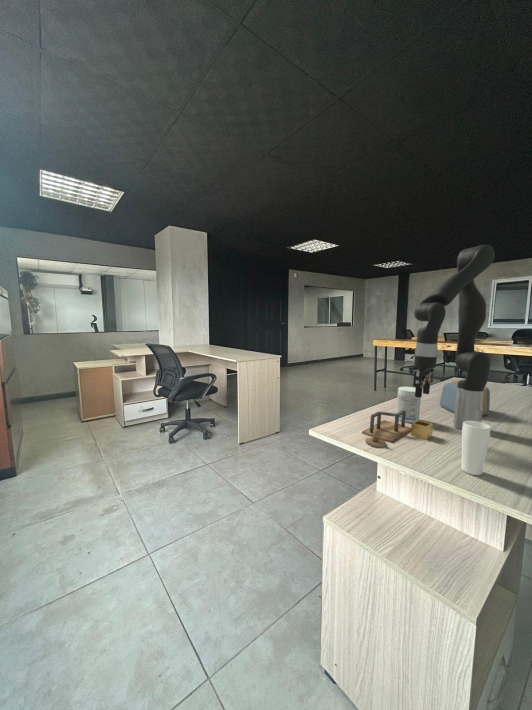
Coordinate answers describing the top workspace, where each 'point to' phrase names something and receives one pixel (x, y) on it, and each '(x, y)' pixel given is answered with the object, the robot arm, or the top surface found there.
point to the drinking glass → (474, 446)
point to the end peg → (375, 440)
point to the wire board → (388, 426)
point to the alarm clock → (450, 397)
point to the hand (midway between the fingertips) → (422, 395)
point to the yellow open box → (421, 429)
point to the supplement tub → (408, 404)
